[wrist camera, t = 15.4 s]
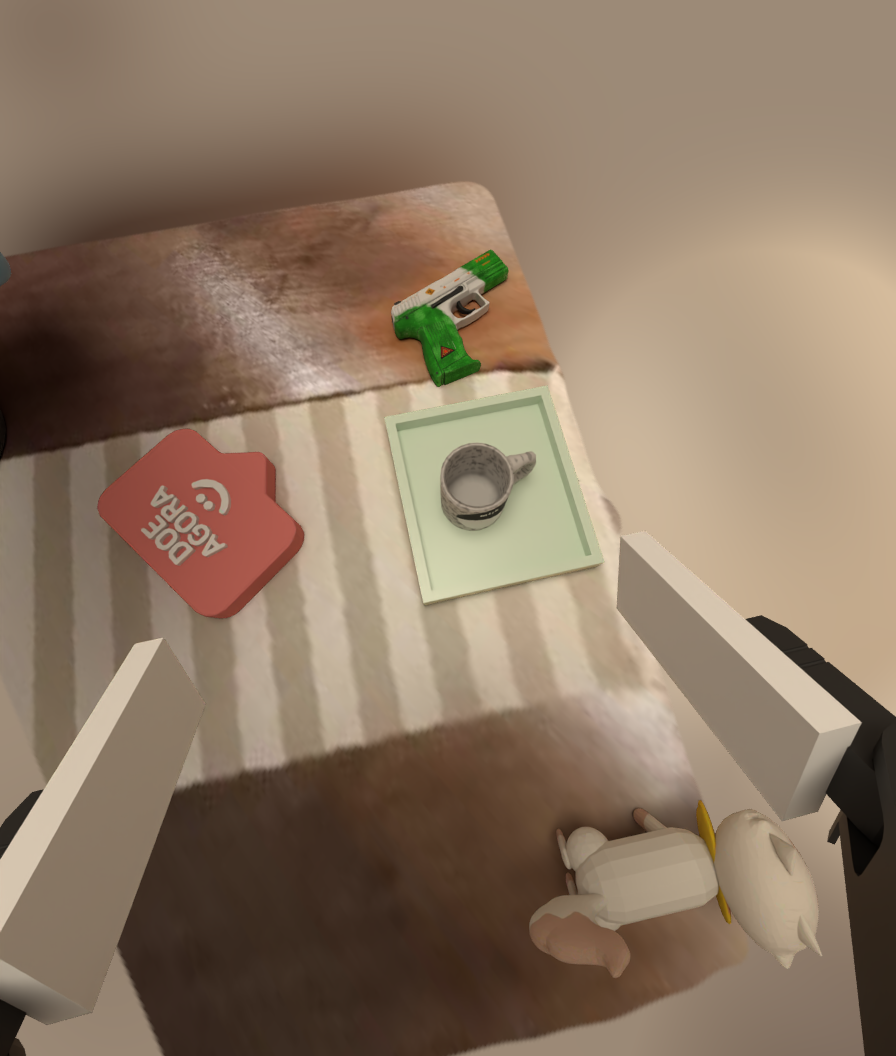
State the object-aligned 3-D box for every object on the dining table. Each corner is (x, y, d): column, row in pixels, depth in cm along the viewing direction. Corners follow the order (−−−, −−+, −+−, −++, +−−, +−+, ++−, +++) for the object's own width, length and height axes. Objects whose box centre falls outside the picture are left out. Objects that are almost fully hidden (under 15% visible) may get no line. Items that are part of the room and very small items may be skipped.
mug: (458, 541, 46) (460, 523, 39) (429, 486, 47) (428, 460, 41) (543, 500, 47) (559, 476, 41) (513, 448, 49) (523, 417, 42)
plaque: (323, 507, 44) (206, 625, 41) (333, 518, 47) (225, 627, 44) (201, 399, 47) (83, 502, 44) (219, 418, 50) (111, 514, 47)
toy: (735, 880, 39) (910, 1015, 24) (520, 931, 38) (570, 1105, 23) (701, 767, 41) (842, 829, 27) (497, 811, 40) (529, 901, 25)
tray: (386, 427, 50) (384, 417, 48) (542, 397, 51) (547, 385, 49) (424, 605, 45) (423, 603, 42) (596, 566, 46) (604, 562, 44)
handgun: (553, 312, 52) (489, 242, 54) (442, 382, 49) (379, 305, 51) (547, 330, 54) (486, 263, 57) (442, 397, 52) (382, 324, 54)
